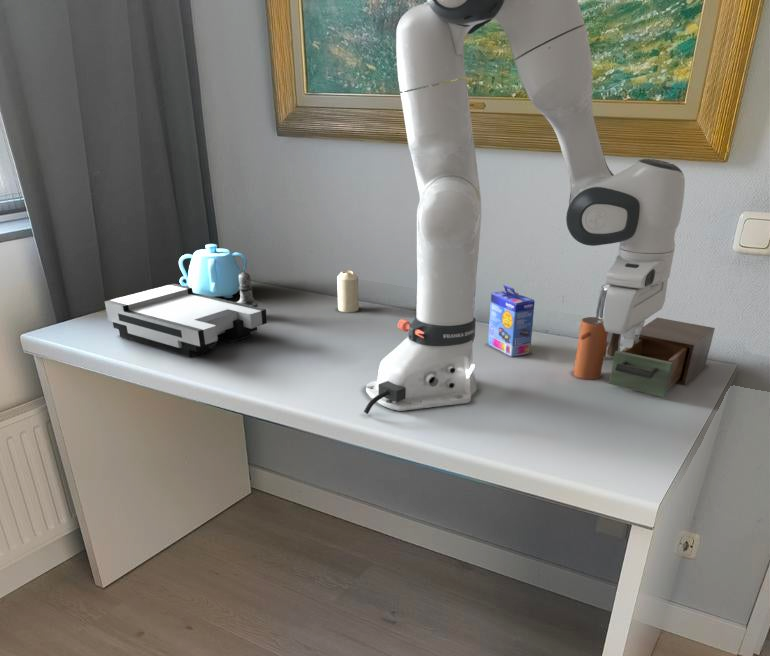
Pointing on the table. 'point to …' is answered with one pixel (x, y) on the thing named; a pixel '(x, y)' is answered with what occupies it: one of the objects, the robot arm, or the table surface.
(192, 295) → the game console
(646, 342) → the drawer
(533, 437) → the table surface
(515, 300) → the ink cartridge box
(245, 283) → the salt shaker
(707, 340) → the cabinet
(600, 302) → the beer glass
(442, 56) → the robot arm
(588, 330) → the orange mug
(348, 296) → the candle
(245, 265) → the decorative pot
